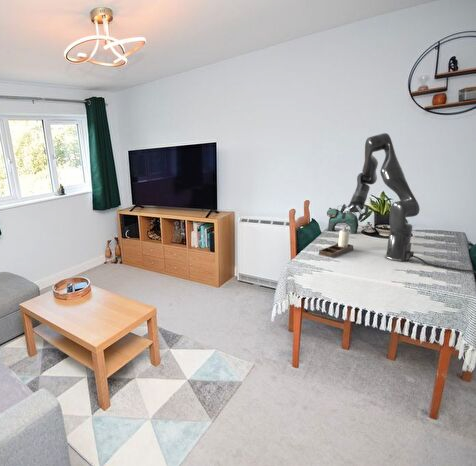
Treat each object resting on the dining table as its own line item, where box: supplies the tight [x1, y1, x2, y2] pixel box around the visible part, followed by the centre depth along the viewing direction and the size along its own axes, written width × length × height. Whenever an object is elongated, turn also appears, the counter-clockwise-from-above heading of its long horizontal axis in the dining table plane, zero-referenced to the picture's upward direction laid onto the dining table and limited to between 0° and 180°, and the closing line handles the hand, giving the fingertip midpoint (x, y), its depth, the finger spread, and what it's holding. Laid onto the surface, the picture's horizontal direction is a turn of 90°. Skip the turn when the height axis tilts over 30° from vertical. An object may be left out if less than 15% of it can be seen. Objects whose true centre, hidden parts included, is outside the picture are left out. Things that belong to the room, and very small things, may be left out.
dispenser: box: [337, 223, 350, 248], centre depth 194 cm, size 5×5×16 cm
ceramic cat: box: [326, 205, 359, 235], centre depth 228 cm, size 20×6×20 cm, turn 37°
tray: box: [318, 243, 354, 258], centre depth 192 cm, size 8×23×3 cm, turn 118°
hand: (350, 219), depth 197 cm, fingers open, 8 cm apart
